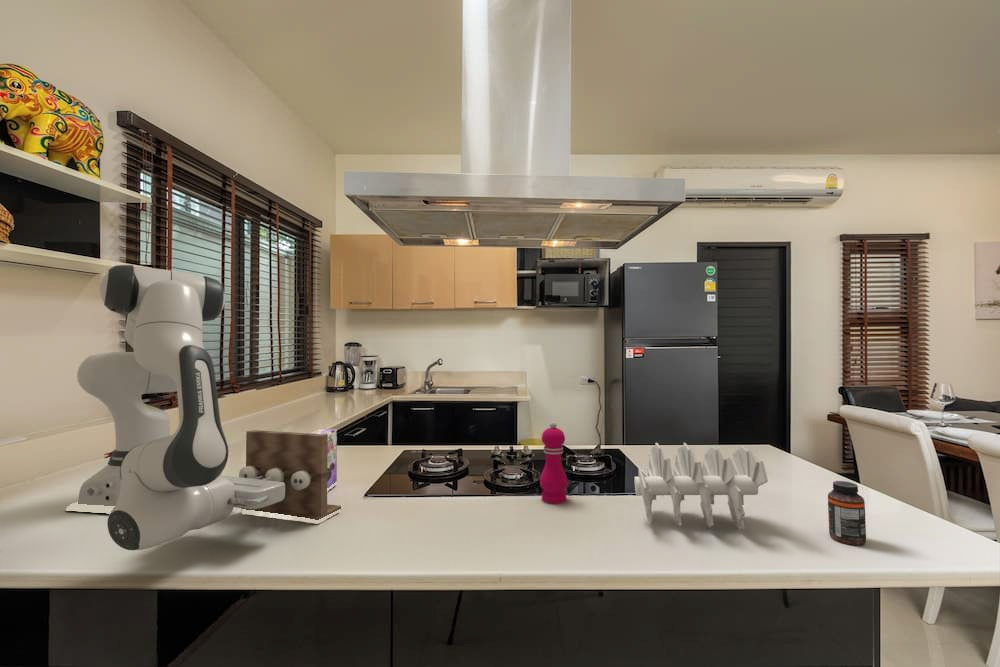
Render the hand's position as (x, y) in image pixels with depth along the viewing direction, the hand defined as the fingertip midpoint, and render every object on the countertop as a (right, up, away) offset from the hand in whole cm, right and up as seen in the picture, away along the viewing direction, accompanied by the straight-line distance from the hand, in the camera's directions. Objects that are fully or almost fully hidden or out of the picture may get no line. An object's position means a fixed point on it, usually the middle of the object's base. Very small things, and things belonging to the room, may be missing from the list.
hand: (267, 480), depth 101 cm
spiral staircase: (+96, -9, -2) cm, 96 cm away
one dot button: (-6, -2, +6) cm, 9 cm away
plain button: (+1, -2, +4) cm, 4 cm away
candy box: (+2, -11, +22) cm, 24 cm away
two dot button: (+8, -2, +1) cm, 9 cm away
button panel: (+2, -10, +7) cm, 12 cm away
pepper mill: (+66, -10, +15) cm, 69 cm away
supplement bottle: (+123, -9, -10) cm, 123 cm away
